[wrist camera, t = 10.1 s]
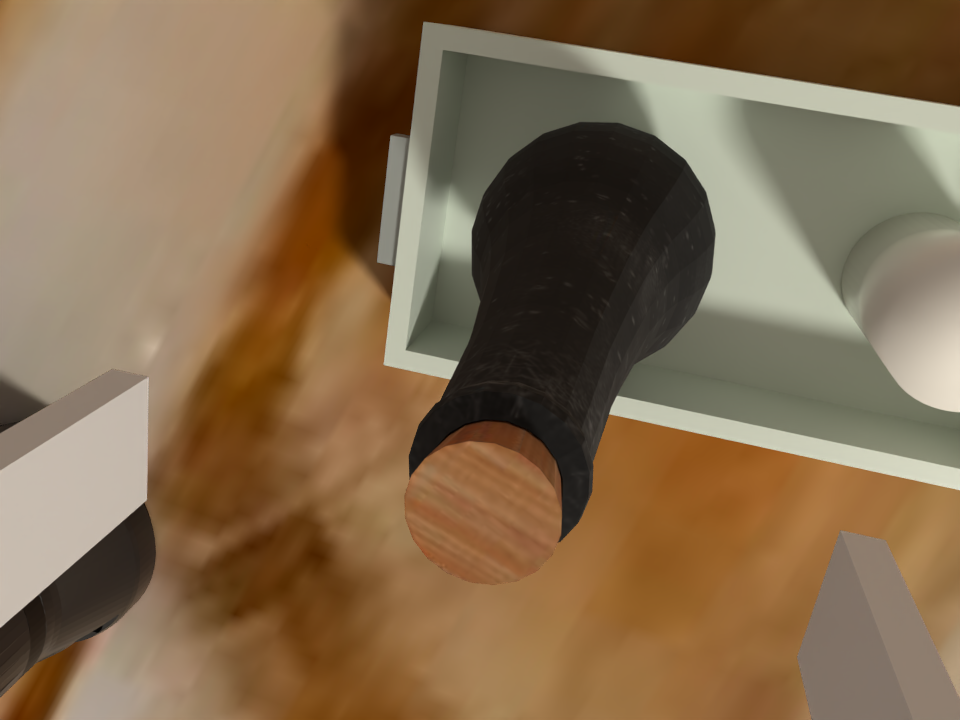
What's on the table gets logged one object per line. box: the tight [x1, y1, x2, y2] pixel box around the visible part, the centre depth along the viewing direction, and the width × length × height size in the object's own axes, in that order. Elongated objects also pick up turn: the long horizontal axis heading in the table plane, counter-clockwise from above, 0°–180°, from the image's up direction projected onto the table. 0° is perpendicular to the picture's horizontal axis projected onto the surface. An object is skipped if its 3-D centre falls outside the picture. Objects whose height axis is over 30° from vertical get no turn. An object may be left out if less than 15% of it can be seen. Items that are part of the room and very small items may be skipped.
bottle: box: [404, 122, 716, 585], centre depth 30 cm, size 11×11×30 cm
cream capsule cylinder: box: [841, 212, 960, 412], centre depth 38 cm, size 6×6×9 cm
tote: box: [377, 22, 960, 490], centre depth 41 cm, size 32×16×6 cm, turn 82°
